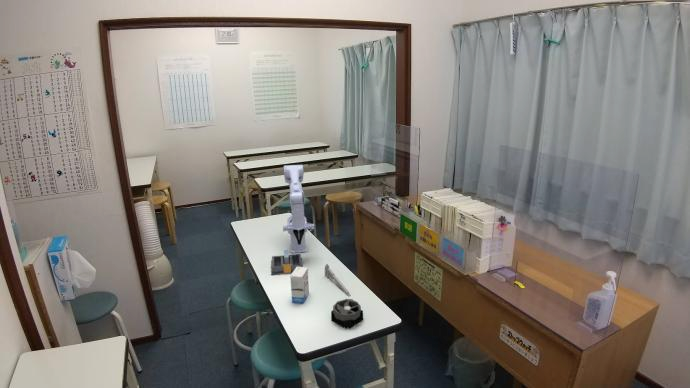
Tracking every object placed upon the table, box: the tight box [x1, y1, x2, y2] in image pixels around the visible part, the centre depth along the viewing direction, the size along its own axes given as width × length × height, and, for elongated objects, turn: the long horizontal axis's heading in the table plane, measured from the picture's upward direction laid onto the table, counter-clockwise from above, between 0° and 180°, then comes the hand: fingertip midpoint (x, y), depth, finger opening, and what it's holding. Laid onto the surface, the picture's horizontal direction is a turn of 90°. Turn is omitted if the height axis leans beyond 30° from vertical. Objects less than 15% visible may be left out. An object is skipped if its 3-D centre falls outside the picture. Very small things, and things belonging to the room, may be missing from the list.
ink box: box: [289, 266, 310, 304], centre depth 159 cm, size 9×5×12 cm, turn 168°
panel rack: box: [270, 253, 304, 276], centre depth 186 cm, size 14×15×5 cm
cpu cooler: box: [330, 298, 364, 330], centre depth 145 cm, size 10×6×10 cm
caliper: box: [324, 263, 351, 297], centre depth 169 cm, size 21×1×6 cm, turn 31°
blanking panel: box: [283, 249, 290, 264], centre depth 186 cm, size 8×2×6 cm, turn 10°
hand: (299, 243), depth 188 cm, fingers closed
